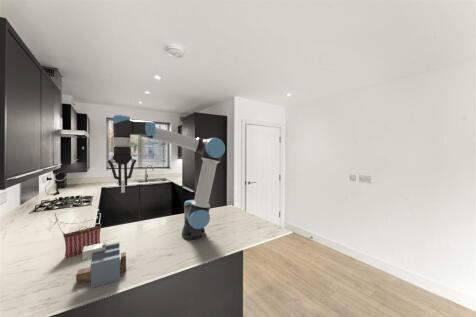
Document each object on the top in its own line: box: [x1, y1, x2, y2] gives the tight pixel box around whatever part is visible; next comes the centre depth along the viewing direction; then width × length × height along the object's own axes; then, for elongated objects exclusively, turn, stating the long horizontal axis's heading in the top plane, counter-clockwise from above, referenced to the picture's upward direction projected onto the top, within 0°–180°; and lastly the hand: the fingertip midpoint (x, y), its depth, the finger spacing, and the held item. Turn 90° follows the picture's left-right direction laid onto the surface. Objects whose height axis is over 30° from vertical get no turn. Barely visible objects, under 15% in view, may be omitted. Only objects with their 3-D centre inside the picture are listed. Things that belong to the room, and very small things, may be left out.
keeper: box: [81, 239, 107, 261], centre depth 85 cm, size 8×5×4 cm, turn 122°
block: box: [90, 241, 121, 289], centre depth 88 cm, size 10×16×12 cm, turn 32°
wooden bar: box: [75, 251, 127, 285], centre depth 87 cm, size 18×4×7 cm, turn 121°
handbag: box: [52, 213, 102, 259], centre depth 103 cm, size 7×21×25 cm, turn 141°
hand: (123, 192), depth 99 cm, fingers closed
